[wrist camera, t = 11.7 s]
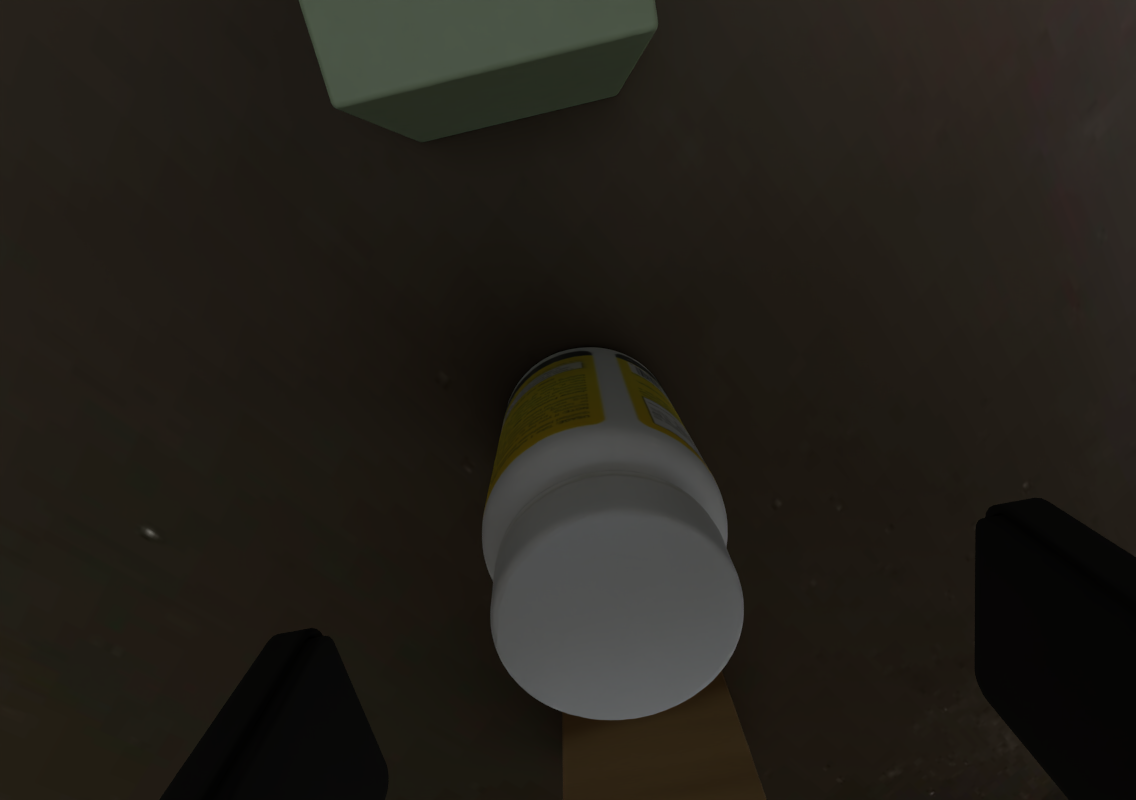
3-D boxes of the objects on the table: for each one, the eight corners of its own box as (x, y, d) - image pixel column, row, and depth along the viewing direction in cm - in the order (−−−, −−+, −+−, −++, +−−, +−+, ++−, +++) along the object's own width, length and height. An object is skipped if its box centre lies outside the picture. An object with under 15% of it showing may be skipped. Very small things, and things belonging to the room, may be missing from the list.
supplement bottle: (494, 483, 18) (443, 722, 10) (517, 330, 16) (479, 463, 8) (651, 506, 18) (726, 755, 10) (688, 359, 16) (812, 513, 8)
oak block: (560, 658, 20) (562, 844, 14) (708, 630, 19) (770, 809, 14) (590, 765, 21) (603, 971, 16) (727, 741, 21) (790, 941, 15)
